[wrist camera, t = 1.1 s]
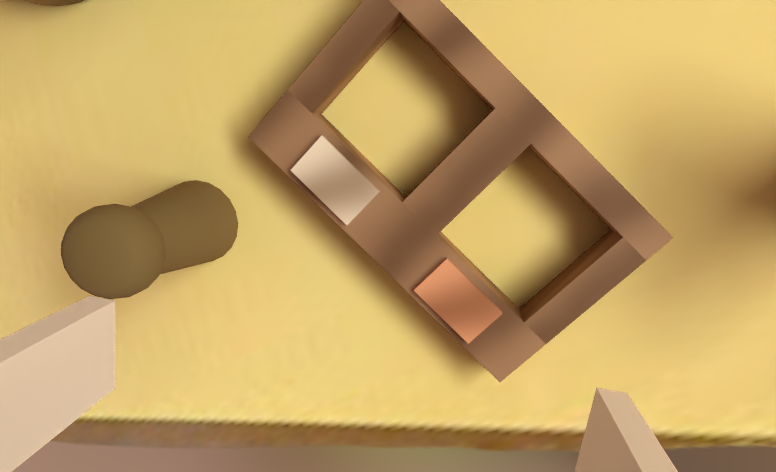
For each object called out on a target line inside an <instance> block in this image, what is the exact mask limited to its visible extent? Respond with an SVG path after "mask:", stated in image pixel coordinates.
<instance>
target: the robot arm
mask: <svg viewBox="0 0 776 472" xmlns="http://www.w3.org/2000/svg"><path fill="white" fill-rule="evenodd" d="M25 1H28V2H32V3H36V4H41V5H52V6H58V5H68V4H73V3H77V2H80V1H83V0H25ZM114 389H115V300H110V299H104V298H99V297H93V296H88V297H86V298H84V299H82V300H80V301H78V302H76V303H74V304H72V305H70V306H68V307H66V308H64V309H62V310H60V311H58V312H55V313H53V314H51V315H49V316H47V317H45V318H43V319H41V320H39V321H37V322H35V323H33V324H31V325H29V326H27V327H25V328H23V329H21V330H19V331H17V332H15V333H13V334H11V335H9V336H7V337H5V338H2V339H0V472H12V471H13V470H14V469H15V468H17V467H18V466H19V465H20V464H21V463H23V462H24V461H25V460H27V459H28V458H29V457H30V456H32V455H33V454H34V453H35V452H37V451H38V450H39V449H40V448H41V447H43V446H44V445H45V444H46V443H48V442H49V441H50V440H52V439H53V438H54V437H55V436H57V435H58V434H59V433H60V432H61V431H63V430H64V429H65V428H66V427H68V426H69V425H70V424H71V423H73V422H74V421H75V420H76V419H78V418H79V417H80V416H81V415H83V414H84V413H85V412H86V411H88V410H89V409H90V408H91V407H93V406H94V405H95V404H96V403H98V402H99V401H100V400H101V399H103V398H104V397H105V396H106V395H108V394H109V393H110V392H111V391H113V390H114ZM575 472H678V471H677V470H676V468H675V467H674V465H673V464H672V462H671V461H670V459H669V457H668V456H667V454H666V453H665V451H664V449H663V448H662V446H661V445H660V443H659V442H658V440H657V438H656V437H655V435H654V434H653V432H652V431H651V429H650V428H649V426H648V424H647V423H646V421H645V420H644V418H643V417H642V415H641V413H640V412H639V410H638V409H637V407H636V406H635V404H634V403H633V401H632V399H631V398H630V396H629V395H628V393H624V392H618V391H613V390H607V389H602V388H596V392H595V396H594V400H593V404H592V408H591V411H590V415H589V419H588V423H587V427H586V430H585V434H584V438H583V442H582V446H581V449H580V453H579V457H578V461H577V465H576V469H575Z"/></svg>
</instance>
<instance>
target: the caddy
mask: <svg viewBox="0 0 776 472" xmlns="http://www.w3.org/2000/svg"><path fill="white" fill-rule="evenodd" d="M403 21H405V22H406V23H407V24H408V25H409V26H410V27H411V28H412V29H413V30H414V31H415V32H416V33H417V34H418V35H419V36H420V37H421V38H422V39H423V40H424V41H425V42H426V43H427V44H428V45H429V46H430V47H431V48H432V49H433V50H434V51H435V52H436V53H437V54H438V55H439V56H440V57H441V58H442V59H443V60H444V61H445V62H446V63H447V64H448V65H449V66H450V67H451V68H452V69H453V70H454V71H455V72H456V73H457V74H458V75H459V76H460V77H461V78H462V79H463V80H464V81H465V82H466V83H467V84H468V85H469V86H470V87H471V88H472V90H473V91H474V92H475V93H476V94H477V95H478V96H479V97H480V98H481V99H482V100H483V101H484V102H485V103H486V104H487V105H488V106H489V107H490V108H491V109H492V111H491V112H490V113H489V114H488V115H487V116H486V117H485V118H484V119H483V120H482V121H481V122H480V123H479V124H478V125H477V126H476V127H475V128H474V129H473V130H472V131H471V132H470V133H469V134H468V135H467V136H466V137H465V138H464V139H463V140H462V141H461V142H460V143H459V144H458V145H457V146H456V147H455V149H454V150H453V151H452V152H451V153H450V154H449V155H448V156H447V157H446V158H445V159H444V160H443V161H442V162H441V163H440V164H439V165H438V166H437V167H436V168H435V169H434V170H433V171H432V172H431V173H430V174H429V175H428V176H427V177H426V178H425V179H424V180H423V181H422V182H421V183H420V184H419V185H418V186H417V187H416V188H415V189H414V190H413V191H412V192H411V193H410V194H409V195H408V196H407V197H405V196H404V195H403V194H402V193H401V192H400V191H399V190H398V189H397V188H396V187H395V186H394V185H393V184H392V183H391V182H390V181H389V180H388V179H387V178H386V177H385V176H384V175H383V174H382V173H381V172H380V171H379V170H378V169H377V168H376V167H375V166H374V165H373V164H372V163H371V162H369V161H368V160H367V159H366V158H365V157H364V156H363V155H362V154H361V153H360V152H359V151H358V150H357V149H356V148H355V147H354V146H353V145H352V144H351V143H350V142H349V141H348V140H347V139H346V138H345V137H344V136H343V135H342V134H341V133H340V132H339V131H338V130H337V129H336V128H335V127H334V126H333V125H332V124H331V123H330V122H329V121H328V120H327V119H326V118H325V117H324V116H323V115H322V113H323V112H324V110H325V109H326V108H327V107H328V106H329V105H330V104H331V103H332V101H333V100H334V99H335V98H336V97H337V96H338V95H339V93H340V92H341V91H342V90H343V89H344V88H345V87H346V86H347V84H348V83H349V82H350V81H351V80H352V79H353V78H354V76H355V75H356V74H357V73H358V72H359V71H360V70H361V69H362V67H363V66H364V65H365V64H366V63H367V62H368V61H369V59H370V58H371V57H372V56H373V55H374V54H375V53H376V52H377V50H378V49H379V48H380V47H381V46H382V45H383V44H384V42H385V41H386V40H387V39H388V38H389V37H390V36H391V35H392V33H393V32H394V31H395V30H396V29H397V28H398V27H399V25H400V24H401V23H402V22H403ZM248 138H249V139H250V140H251V141H252V142H253V143H254V144H256V145H257V146H258V147H259V148H260V149H261V150H262V151H263V152H264V153H265V154H266V155H267V156H268V157H269V158H270V159H271V160H272V161H273V162H274V163H275V164H276V165H277V166H278V167H279V168H280V169H281V170H282V171H283V172H284V173H285V174H286V175H287V176H288V177H289V178H290V179H291V180H293V181H294V182H295V183H296V184H297V185H298V186H299V187H300V188H301V189H302V190H303V191H304V192H305V193H306V194H307V195H308V196H309V197H310V198H311V199H312V200H313V201H314V202H315V203H316V204H317V205H318V206H319V207H320V208H321V209H322V210H323V211H324V212H325V213H326V214H327V215H328V216H330V217H331V218H332V219H333V220H334V221H335V222H336V223H337V224H338V225H339V226H340V227H341V228H342V229H343V230H344V231H345V232H346V233H347V234H348V235H349V236H350V237H351V238H352V239H353V240H354V241H355V242H356V243H357V244H358V245H359V246H360V247H361V248H362V249H363V250H364V251H365V252H366V253H368V254H369V255H370V256H371V257H372V258H373V259H374V260H375V261H376V262H377V263H378V264H379V265H380V266H381V267H382V268H383V269H384V270H385V271H386V272H387V273H388V274H389V275H390V276H391V277H392V278H393V279H394V280H395V281H396V282H397V283H398V284H399V285H400V286H401V287H402V288H403V289H405V290H406V291H407V292H408V293H409V294H410V295H411V296H412V297H413V298H414V299H415V300H416V301H417V302H418V303H419V304H420V305H421V306H422V307H423V308H424V309H425V310H426V311H427V312H428V313H429V314H430V315H431V316H432V317H433V318H434V319H435V320H436V321H437V322H438V323H439V324H440V325H442V326H443V327H444V328H445V329H446V330H447V331H448V332H449V333H450V334H451V335H452V336H453V337H454V338H455V339H456V340H457V341H458V342H459V343H460V344H461V345H462V346H463V347H464V348H465V349H466V350H467V351H468V352H469V353H470V354H471V355H472V356H473V357H474V358H475V359H476V360H477V361H479V362H480V363H481V364H482V365H483V366H484V367H485V368H486V369H487V370H488V371H489V372H490V373H491V374H492V375H493V376H494V377H495V378H496V379H497V380H498V381H499V382H501V381H502V380H503V379H505V378H506V377H507V376H508V375H509V374H511V373H512V372H513V371H514V370H515V369H517V368H518V367H519V366H520V365H521V364H523V363H524V362H525V361H526V360H527V359H529V358H530V357H531V356H532V355H533V354H535V353H536V352H537V351H538V350H539V349H541V348H542V347H543V346H544V345H545V344H547V343H548V342H549V341H550V340H551V339H553V338H554V337H555V336H556V335H557V334H559V333H560V332H561V331H562V330H563V329H565V328H566V327H567V326H568V325H569V324H571V323H572V322H573V321H574V320H575V319H577V318H578V317H579V316H580V315H581V314H583V313H584V312H585V311H586V310H587V309H589V308H590V307H591V306H592V305H593V304H595V303H596V302H597V301H598V300H599V299H600V298H602V297H603V296H604V295H605V294H606V293H608V292H609V291H610V290H611V289H612V288H614V287H615V286H616V285H617V284H618V283H620V282H621V281H622V280H623V279H624V278H626V277H627V276H628V275H629V274H630V273H632V272H633V271H634V270H635V269H636V268H638V267H639V266H640V265H641V264H642V263H644V262H645V261H646V260H647V259H648V258H650V257H651V256H652V255H653V254H654V253H656V252H657V251H658V250H659V249H660V248H662V247H663V246H664V245H665V244H666V243H668V242H669V241H670V240H671V239H672V238H673V237H672V236H671V235H670V234H669V233H668V232H667V231H666V230H665V229H664V228H663V227H662V226H661V225H660V224H659V223H658V222H657V221H656V220H655V219H654V218H653V217H652V216H651V215H650V214H649V213H648V212H647V210H646V209H645V208H644V207H643V206H642V205H641V204H640V203H639V202H638V201H637V200H636V199H635V198H634V197H633V196H632V195H631V194H630V193H629V192H628V191H627V190H626V189H625V188H624V187H623V186H622V185H621V184H620V183H619V182H618V181H617V180H616V179H615V178H614V177H613V176H612V175H611V174H610V173H609V172H608V171H607V170H606V169H605V168H604V167H603V166H602V165H601V164H600V163H599V162H598V161H597V160H596V159H595V158H594V157H593V156H592V155H591V154H590V153H589V152H588V150H587V149H586V148H585V147H584V146H583V145H582V144H581V143H580V142H579V141H578V140H577V139H576V138H575V137H574V136H573V135H572V134H571V133H570V132H569V131H568V130H567V129H566V128H565V127H564V126H563V125H562V124H561V123H560V122H559V121H558V120H557V119H556V118H555V117H554V116H553V115H552V114H551V113H550V112H549V111H548V110H547V109H546V108H545V107H544V106H543V105H542V104H541V103H540V102H539V101H538V100H537V99H536V98H535V97H534V96H533V95H532V94H531V93H530V92H529V90H528V89H527V88H526V87H525V86H524V85H523V84H522V83H521V82H520V81H519V80H518V79H517V78H516V77H515V76H514V75H513V74H512V73H511V72H510V71H509V70H508V69H507V68H506V67H505V66H504V65H503V64H502V63H501V62H500V61H499V60H498V59H497V58H496V57H495V56H494V55H493V54H492V53H491V52H490V51H489V50H488V49H487V48H486V47H485V46H484V45H483V44H482V43H481V42H480V41H479V40H478V39H477V38H476V37H475V36H474V35H473V34H472V33H471V32H470V30H469V29H468V28H467V27H466V26H465V25H464V24H463V23H462V22H461V21H460V20H459V19H458V18H457V17H456V16H455V15H454V14H453V13H452V12H451V11H450V10H449V9H448V8H447V7H446V6H445V5H444V4H443V3H442V2H441V1H440V0H364V1H363V2H362V3H361V4H360V5H359V7H358V8H357V9H356V10H355V11H354V12H353V14H352V15H351V16H350V17H349V18H348V20H347V21H346V22H345V23H344V24H343V25H342V27H341V28H340V29H339V30H338V31H337V32H336V34H335V35H334V36H333V37H332V38H331V40H330V41H329V42H328V43H327V44H326V45H325V47H324V48H323V49H322V50H321V51H320V53H319V54H318V55H317V56H316V57H315V58H314V60H313V61H312V62H311V63H310V64H309V65H308V67H307V68H306V69H305V70H304V71H303V73H302V74H301V75H300V76H299V77H298V78H297V80H296V81H295V82H294V83H293V84H292V86H291V87H290V88H289V89H288V90H287V91H286V93H285V94H284V95H283V96H282V97H281V98H280V100H279V101H278V102H277V103H276V104H275V106H274V107H273V108H272V109H271V110H270V111H269V113H268V114H267V115H266V116H265V117H264V119H263V120H262V121H261V122H260V123H259V124H258V126H257V127H256V128H255V129H254V130H253V132H252V133H251V134H250V135H249V136H248ZM528 146H529V147H530V148H531V149H532V150H533V151H534V152H535V153H536V154H537V155H538V156H539V157H540V158H541V159H542V160H543V161H544V162H545V163H546V164H547V165H548V166H549V167H550V168H551V169H552V170H553V171H554V172H555V173H556V174H557V175H558V176H559V177H560V178H561V179H562V180H563V181H564V182H565V183H566V184H567V185H568V186H569V187H570V188H571V189H572V190H573V191H574V192H575V193H576V194H577V195H578V196H579V198H580V199H581V200H582V201H583V202H584V203H585V204H586V205H587V206H588V207H589V208H590V209H591V210H592V211H593V212H594V213H595V214H596V215H597V216H598V217H599V218H600V219H601V220H602V221H603V222H604V223H605V224H606V225H607V226H608V227H609V228H610V229H611V230H610V231H609V232H608V233H607V234H605V235H604V236H603V237H602V238H601V239H600V240H599V241H597V242H596V243H595V244H594V245H593V246H592V247H590V248H589V249H588V250H587V251H586V252H585V253H584V254H582V255H581V256H580V257H579V258H578V259H577V260H576V261H574V262H573V263H572V264H571V265H570V266H569V267H568V268H566V269H565V270H564V271H563V272H562V273H561V274H559V275H558V276H557V277H556V278H555V279H554V280H553V281H551V282H550V283H549V284H548V285H547V286H546V287H545V288H543V289H542V290H541V291H540V292H539V293H538V294H536V295H535V296H534V297H533V298H532V299H531V300H530V301H528V302H527V303H526V304H525V305H524V306H523V307H522V308H520V309H519V308H518V307H517V306H516V305H515V304H514V303H513V302H512V301H511V300H509V299H508V298H507V297H506V296H505V295H504V294H503V293H502V292H501V291H500V290H499V289H498V288H497V287H496V286H495V285H494V284H493V283H492V282H491V281H490V280H489V279H488V278H487V277H486V276H485V275H484V274H483V273H482V272H481V271H480V270H479V269H478V268H477V267H476V266H475V265H474V264H473V263H472V262H471V261H470V260H469V259H468V258H467V257H466V256H465V255H464V254H463V253H462V252H461V251H460V250H459V249H458V248H457V247H456V246H455V245H454V244H453V243H452V242H451V241H450V240H449V239H448V238H447V237H446V236H445V235H444V234H443V233H442V232H441V230H442V229H443V228H444V227H445V226H446V225H448V224H449V223H450V222H451V221H452V220H453V219H454V218H455V217H456V216H457V215H458V214H459V213H460V212H461V211H462V210H463V209H464V208H465V207H466V206H467V205H468V204H469V203H470V202H471V201H472V200H473V199H474V198H475V197H476V196H477V195H479V194H480V193H481V192H482V191H483V190H484V189H485V188H486V187H487V186H488V185H489V184H490V183H491V182H492V181H493V180H494V179H495V178H496V177H497V176H498V175H499V174H500V173H501V172H502V171H503V170H504V169H505V168H506V167H507V166H509V165H510V164H511V163H512V162H513V161H514V160H515V159H516V158H517V157H518V156H519V155H520V154H521V153H522V152H523V151H524V150H525V149H526V148H527V147H528Z"/></svg>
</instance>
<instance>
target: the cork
mask: <svg viewBox="0 0 776 472" xmlns="http://www.w3.org/2000/svg"><path fill="white" fill-rule="evenodd" d="M237 229H238V221H237V216H236V211H235V209H234V207H233V205H232V203H231V201H230V199H229V198H228V197H227V196H226V195H225V194H224V193H223V192H222V191H221V190H220V189H218V188H217V187H215V186H213V185H211V184H209V183H206V182H201V181H188V182H183V183H181V184H179V185H177V186H174V187H172V188H170V189H168V190H166V191H164V192H162V193H159V194H157V195H155V196H153V197H151V198H149V199H146V200H144V201H142V202H140V203H138V204H136V205H134V206H131V207H128V206H124V205H118V204H111V205H103V206H97V207H93V208H91V209H89V210H87V211H86V212H84V213H82V214H80V215H79V216H77V217H76V218H75V219H74V220H73V221H72V223H71V224H70V225H69V226H68V228H67V230H66V232H65V234H64V237H63V240H62V243H61V257H62V260H63V264H64V268H65V269H66V271H67V273H68V275H69V276H70V278H71V279H72V280H73V281H74V282H75V283H76V284H77V285H78V286H79V287H80V288H81V289H83V290H85V291H86V292H88V293H90V294H92V295H95V296H98V297H103V298H107V299H115V298H125V297H130V296H132V295H134V294H136V293H139V292H141V291H143V290H144V289H146V288H148V287H149V286H150V285H151V284H152V282H153V281H154V280H155V279H156V278H157V277H158V276H159V275H160V274H163V273H167V272H171V271H175V270H179V269H183V268H187V267H190V266H194V265H198V264H202V263H206V262H210V261H213V260H216V259H218V258H220V257H222V256H224V255H225V254H226V252H227V251H228V250H229V249H230V248H231V247H232V245H233V243H234V241H235V239H236V237H237Z"/></svg>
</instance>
